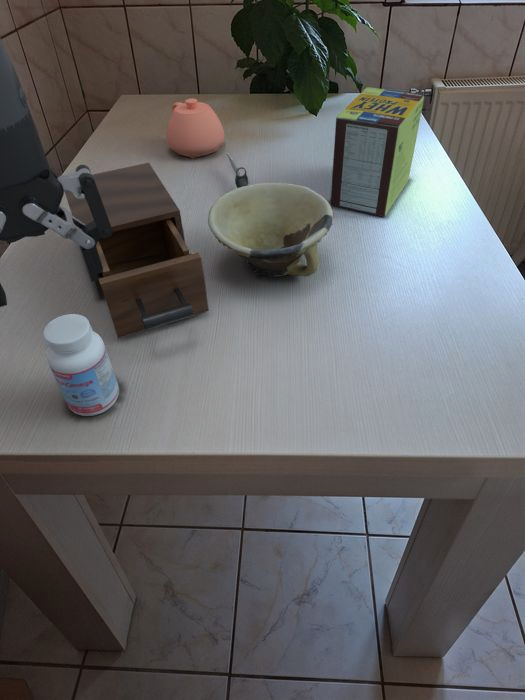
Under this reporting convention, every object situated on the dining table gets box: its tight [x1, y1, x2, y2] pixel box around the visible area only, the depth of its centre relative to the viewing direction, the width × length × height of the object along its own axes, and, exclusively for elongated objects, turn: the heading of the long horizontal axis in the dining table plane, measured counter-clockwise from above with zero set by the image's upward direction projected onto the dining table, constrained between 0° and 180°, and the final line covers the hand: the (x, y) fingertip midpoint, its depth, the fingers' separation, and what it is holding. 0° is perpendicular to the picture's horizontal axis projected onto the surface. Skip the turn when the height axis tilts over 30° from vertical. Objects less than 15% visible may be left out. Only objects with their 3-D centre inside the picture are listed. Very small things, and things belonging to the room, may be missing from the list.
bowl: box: [207, 182, 334, 278], centre depth 73 cm, size 18×18×10 cm
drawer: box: [96, 218, 210, 339], centre depth 67 cm, size 21×13×9 cm, turn 24°
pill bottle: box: [42, 313, 120, 417], centre depth 55 cm, size 6×6×11 cm
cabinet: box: [64, 162, 186, 299], centre depth 76 cm, size 17×14×11 cm
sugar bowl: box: [166, 98, 226, 160], centre depth 105 cm, size 12×14×10 cm
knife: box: [226, 151, 249, 189], centre depth 93 cm, size 19×2×5 cm, turn 16°
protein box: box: [329, 86, 425, 218], centre depth 87 cm, size 10×15×16 cm
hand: (49, 288), depth 48 cm, fingers open, 8 cm apart
